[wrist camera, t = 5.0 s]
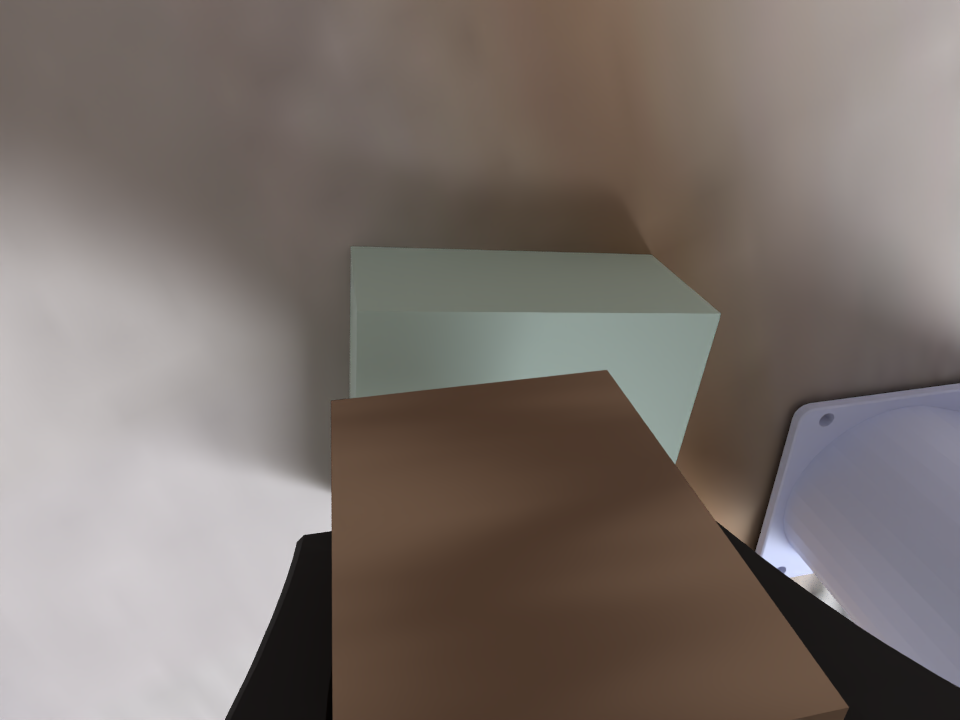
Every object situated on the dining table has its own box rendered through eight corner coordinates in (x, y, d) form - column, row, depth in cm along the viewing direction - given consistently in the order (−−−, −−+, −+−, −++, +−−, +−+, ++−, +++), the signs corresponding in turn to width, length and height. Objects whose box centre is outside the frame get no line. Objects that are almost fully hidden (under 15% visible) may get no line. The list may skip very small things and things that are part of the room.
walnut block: (607, 369, 11) (848, 707, 6) (587, 563, 13) (749, 929, 8) (331, 400, 10) (333, 817, 5) (359, 600, 12) (381, 1028, 7)
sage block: (647, 251, 18) (721, 313, 15) (593, 479, 22) (642, 571, 19) (350, 242, 16) (357, 311, 13) (348, 492, 20) (353, 596, 17)
